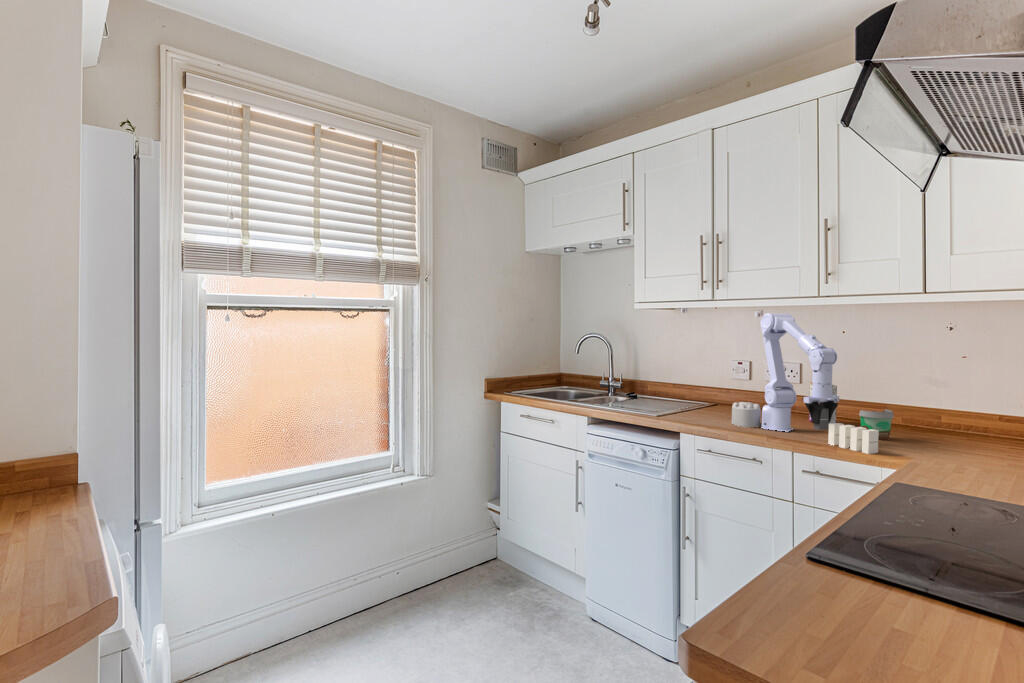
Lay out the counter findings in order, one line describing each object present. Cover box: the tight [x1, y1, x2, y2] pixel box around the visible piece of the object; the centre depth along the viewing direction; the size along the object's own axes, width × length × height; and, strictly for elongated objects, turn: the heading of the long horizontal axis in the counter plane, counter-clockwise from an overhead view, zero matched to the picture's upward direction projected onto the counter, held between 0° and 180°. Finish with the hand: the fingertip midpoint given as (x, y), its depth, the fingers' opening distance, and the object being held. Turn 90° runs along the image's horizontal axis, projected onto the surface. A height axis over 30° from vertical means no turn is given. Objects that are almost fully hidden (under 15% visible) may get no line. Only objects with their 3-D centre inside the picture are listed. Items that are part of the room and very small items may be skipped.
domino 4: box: [861, 429, 879, 455], centre depth 158 cm, size 2×4×7 cm, turn 111°
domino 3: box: [849, 426, 867, 452], centre depth 161 cm, size 2×4×7 cm, turn 111°
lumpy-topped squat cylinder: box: [731, 401, 762, 428], centre depth 202 cm, size 10×13×9 cm
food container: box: [858, 408, 895, 441], centre depth 177 cm, size 12×6×10 cm, turn 105°
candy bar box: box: [808, 381, 838, 424], centre depth 206 cm, size 11×5×16 cm, turn 179°
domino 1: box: [827, 422, 845, 447], centre depth 168 cm, size 2×4×7 cm, turn 111°
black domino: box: [813, 408, 829, 431], centre depth 173 cm, size 2×4×7 cm, turn 111°
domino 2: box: [838, 424, 856, 449], centre depth 165 cm, size 2×4×7 cm, turn 111°
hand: (820, 423), depth 173 cm, fingers closed on black domino, 4 cm apart
